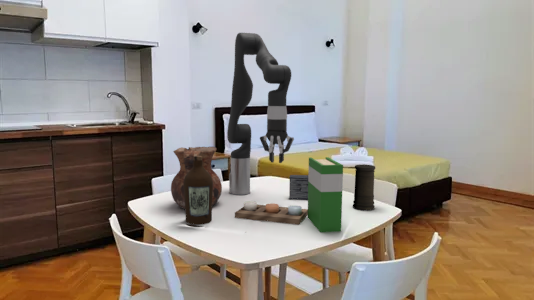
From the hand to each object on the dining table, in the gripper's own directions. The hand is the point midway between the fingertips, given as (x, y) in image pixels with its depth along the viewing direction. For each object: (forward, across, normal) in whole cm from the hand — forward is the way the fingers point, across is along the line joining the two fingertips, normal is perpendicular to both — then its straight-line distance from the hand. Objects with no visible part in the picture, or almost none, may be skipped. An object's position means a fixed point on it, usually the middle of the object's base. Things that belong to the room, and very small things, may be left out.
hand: (276, 162), depth 163 cm
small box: (+21, +2, +30) cm, 37 cm away
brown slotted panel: (+21, 0, -5) cm, 22 cm away
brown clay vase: (+21, -36, +1) cm, 41 cm away
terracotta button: (+18, 0, -5) cm, 19 cm away
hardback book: (+21, +20, -8) cm, 31 cm away
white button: (+18, -9, -5) cm, 21 cm away
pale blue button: (+18, +9, -5) cm, 21 cm away
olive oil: (+21, -24, -20) cm, 38 cm away
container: (+21, +32, +23) cm, 44 cm away
